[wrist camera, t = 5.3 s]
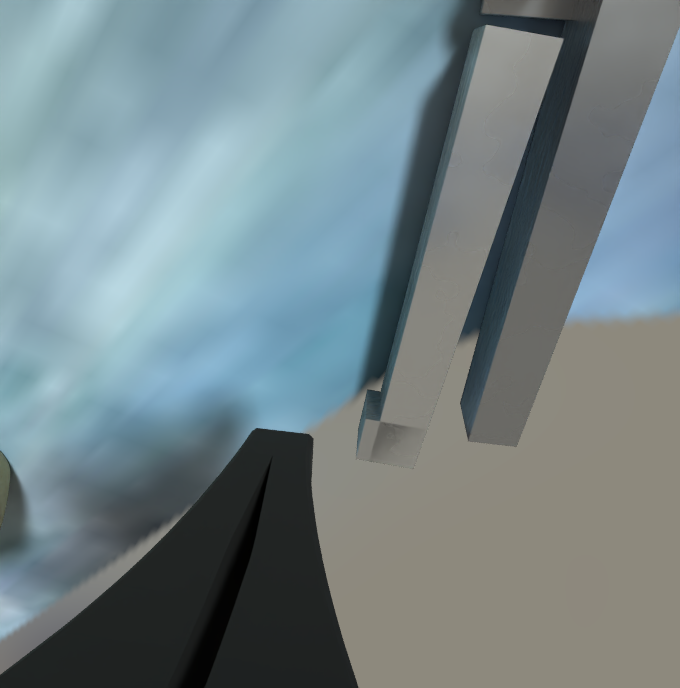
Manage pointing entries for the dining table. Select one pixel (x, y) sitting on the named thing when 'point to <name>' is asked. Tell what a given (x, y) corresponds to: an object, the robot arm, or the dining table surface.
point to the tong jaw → (457, 232)
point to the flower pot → (3, 485)
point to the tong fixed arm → (562, 193)
